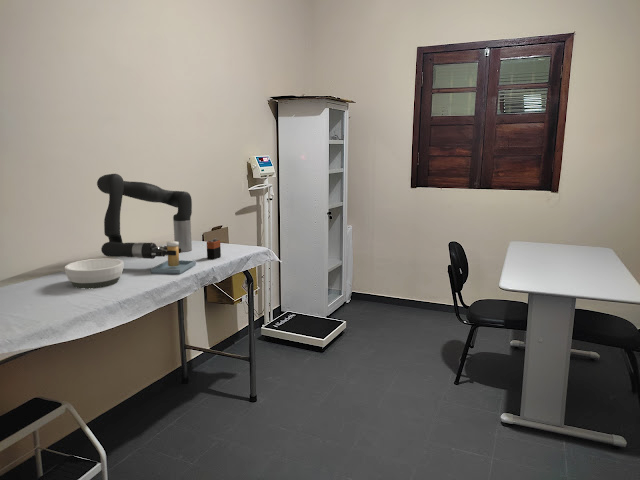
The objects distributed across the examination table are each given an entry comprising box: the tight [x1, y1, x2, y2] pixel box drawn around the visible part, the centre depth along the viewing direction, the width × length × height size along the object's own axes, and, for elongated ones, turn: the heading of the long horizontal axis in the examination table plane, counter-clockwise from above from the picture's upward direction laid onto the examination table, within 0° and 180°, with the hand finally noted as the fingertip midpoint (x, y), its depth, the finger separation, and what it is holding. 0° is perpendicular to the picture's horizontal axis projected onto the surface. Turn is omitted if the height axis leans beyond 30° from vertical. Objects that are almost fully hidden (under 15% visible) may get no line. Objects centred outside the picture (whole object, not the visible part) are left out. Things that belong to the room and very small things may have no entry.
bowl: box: [64, 257, 124, 290], centre depth 202 cm, size 22×22×8 cm
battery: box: [206, 237, 222, 260], centre depth 250 cm, size 4×7×10 cm, turn 158°
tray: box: [150, 259, 197, 275], centre depth 226 cm, size 18×14×2 cm
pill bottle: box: [166, 240, 180, 266], centre depth 225 cm, size 5×5×11 cm
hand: (178, 251), depth 225 cm, fingers closed on pill bottle, 5 cm apart
